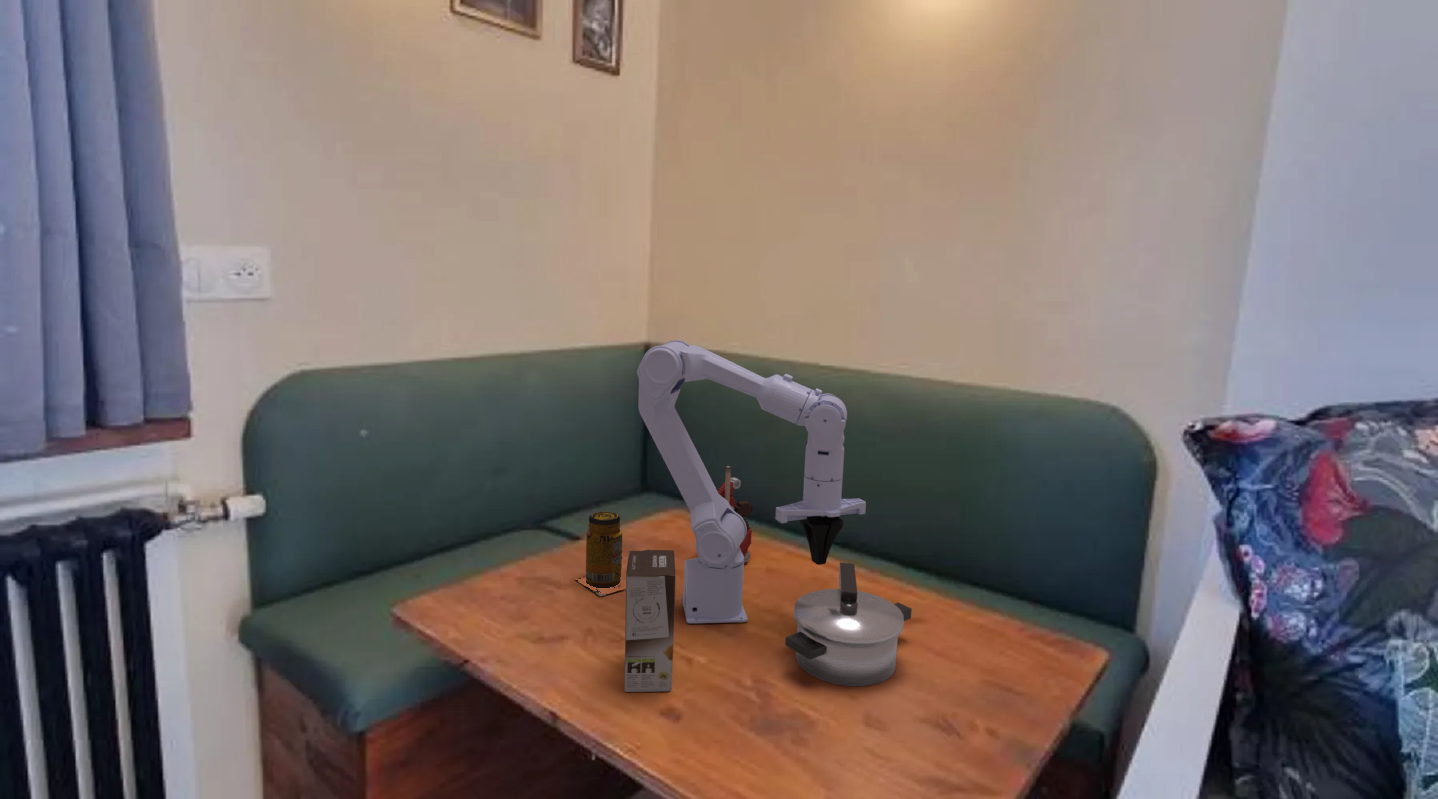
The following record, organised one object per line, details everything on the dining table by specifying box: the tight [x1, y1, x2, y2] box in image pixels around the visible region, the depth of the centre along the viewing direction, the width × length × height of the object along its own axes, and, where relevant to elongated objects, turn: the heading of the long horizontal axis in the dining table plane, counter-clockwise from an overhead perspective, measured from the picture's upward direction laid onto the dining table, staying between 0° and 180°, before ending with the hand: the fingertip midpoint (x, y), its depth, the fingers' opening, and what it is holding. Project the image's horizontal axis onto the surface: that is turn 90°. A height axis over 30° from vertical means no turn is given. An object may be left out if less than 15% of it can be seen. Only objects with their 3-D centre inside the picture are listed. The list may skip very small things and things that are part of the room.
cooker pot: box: [784, 602, 913, 687], centre depth 113 cm, size 22×14×6 cm, turn 128°
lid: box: [793, 562, 905, 646], centre depth 113 cm, size 20×15×4 cm
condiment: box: [585, 510, 623, 597], centre depth 134 cm, size 7×8×12 cm
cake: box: [717, 465, 753, 564], centre depth 146 cm, size 11×9×18 cm
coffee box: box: [623, 549, 676, 693], centre depth 105 cm, size 9×6×16 cm
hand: (818, 562), depth 121 cm, fingers closed
